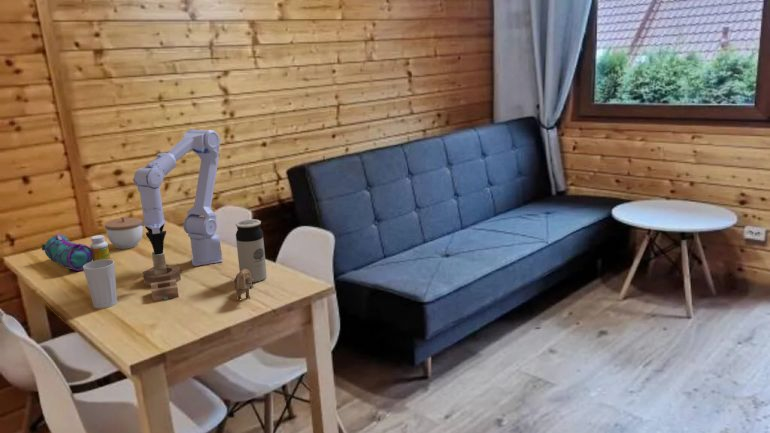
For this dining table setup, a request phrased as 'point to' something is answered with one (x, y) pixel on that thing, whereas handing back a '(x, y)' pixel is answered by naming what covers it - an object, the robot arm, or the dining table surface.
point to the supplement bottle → (99, 248)
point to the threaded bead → (164, 290)
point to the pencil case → (67, 252)
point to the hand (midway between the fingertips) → (158, 250)
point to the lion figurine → (243, 283)
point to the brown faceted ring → (171, 274)
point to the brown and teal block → (159, 263)
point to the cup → (101, 282)
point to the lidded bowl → (124, 232)
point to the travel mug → (251, 248)
